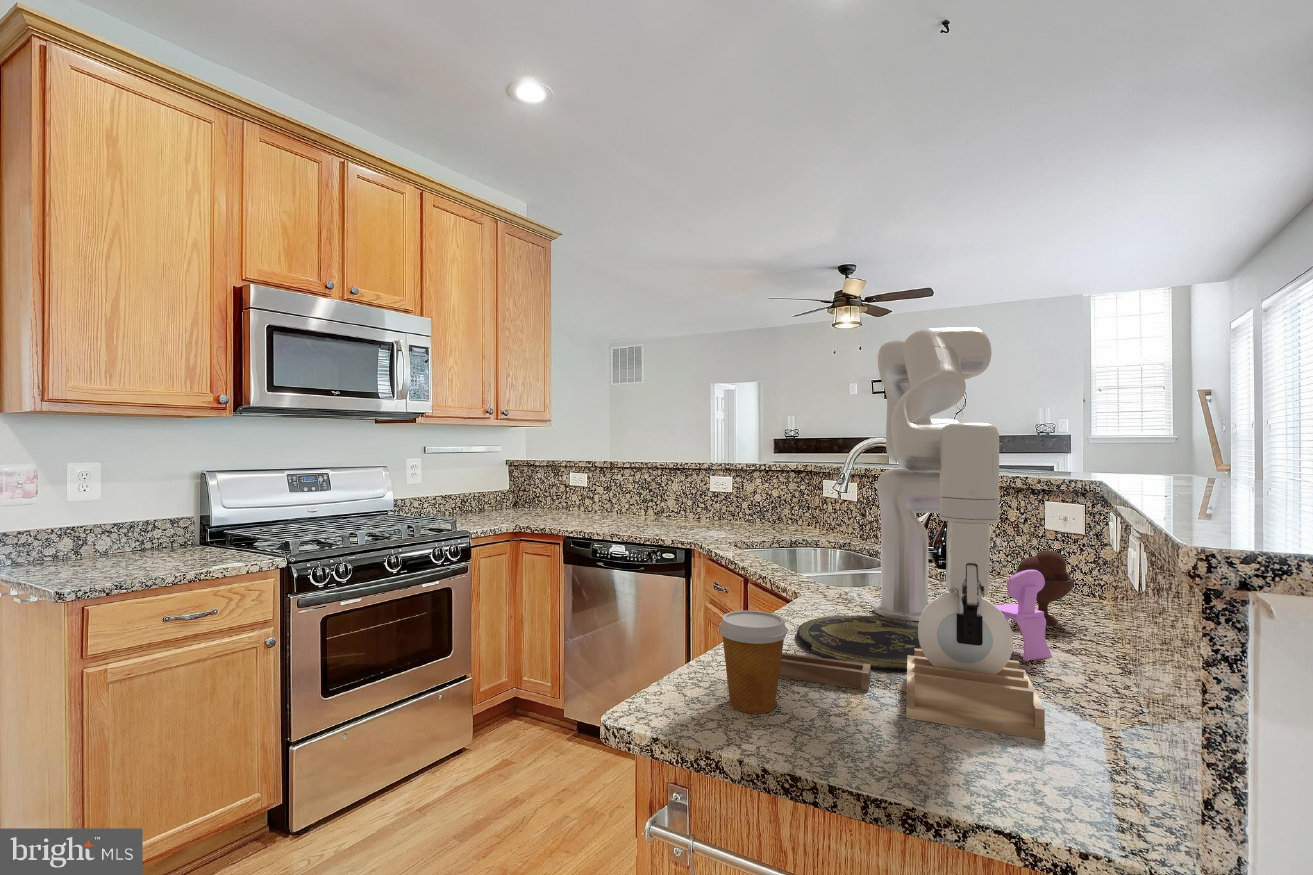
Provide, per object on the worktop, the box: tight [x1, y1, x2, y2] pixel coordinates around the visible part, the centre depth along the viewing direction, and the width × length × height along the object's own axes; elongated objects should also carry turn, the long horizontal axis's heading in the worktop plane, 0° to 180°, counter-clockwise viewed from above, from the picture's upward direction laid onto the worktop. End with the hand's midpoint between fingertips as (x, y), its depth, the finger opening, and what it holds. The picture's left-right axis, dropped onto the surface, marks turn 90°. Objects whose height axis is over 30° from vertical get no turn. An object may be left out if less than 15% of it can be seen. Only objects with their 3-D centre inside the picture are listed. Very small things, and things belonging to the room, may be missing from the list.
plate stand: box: [779, 652, 871, 691], centre depth 98 cm, size 4×15×2 cm, turn 68°
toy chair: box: [994, 570, 1053, 661], centre depth 112 cm, size 8×9×15 cm
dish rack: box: [905, 648, 1046, 741], centre depth 88 cm, size 16×16×5 cm
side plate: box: [918, 591, 1014, 675], centre depth 88 cm, size 2×12×12 cm
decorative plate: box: [795, 614, 921, 674], centre depth 115 cm, size 30×2×30 cm
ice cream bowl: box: [1012, 549, 1076, 626], centre depth 131 cm, size 11×11×15 cm
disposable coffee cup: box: [718, 610, 789, 715], centre depth 87 cm, size 10×10×12 cm
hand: (968, 640), depth 88 cm, fingers closed on side plate, 1 cm apart
